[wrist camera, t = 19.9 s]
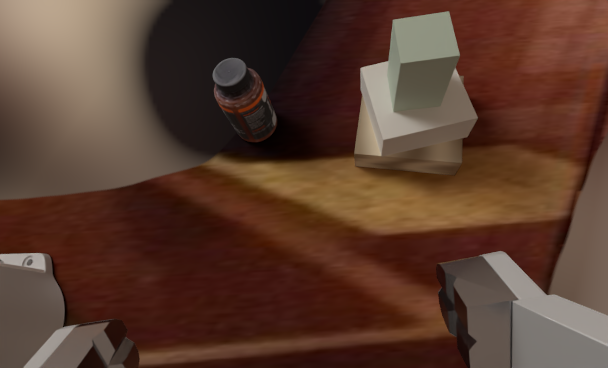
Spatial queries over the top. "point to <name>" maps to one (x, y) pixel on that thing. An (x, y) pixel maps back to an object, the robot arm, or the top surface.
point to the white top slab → (414, 114)
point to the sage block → (421, 61)
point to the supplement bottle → (244, 100)
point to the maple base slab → (422, 159)
